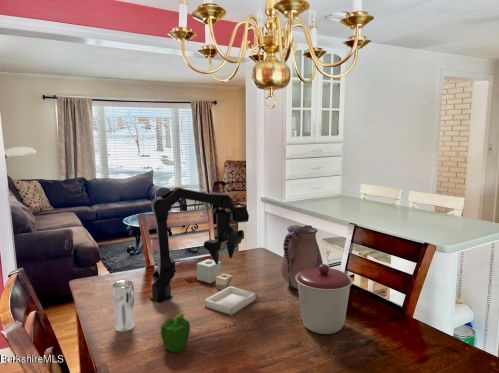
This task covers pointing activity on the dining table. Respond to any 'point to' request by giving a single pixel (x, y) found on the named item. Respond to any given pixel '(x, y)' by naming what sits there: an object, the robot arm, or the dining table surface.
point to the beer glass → (123, 304)
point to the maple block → (224, 281)
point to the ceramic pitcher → (299, 252)
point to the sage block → (208, 270)
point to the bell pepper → (175, 333)
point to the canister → (323, 298)
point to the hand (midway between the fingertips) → (223, 260)
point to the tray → (230, 300)
